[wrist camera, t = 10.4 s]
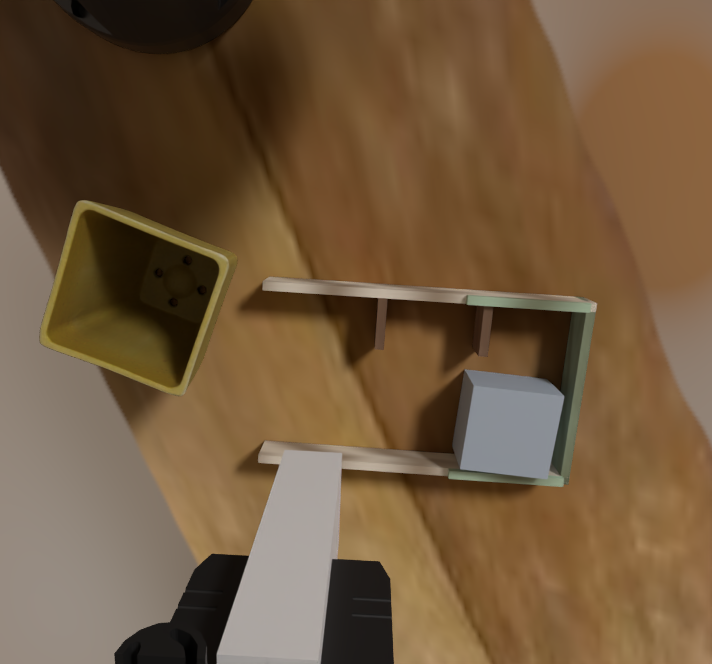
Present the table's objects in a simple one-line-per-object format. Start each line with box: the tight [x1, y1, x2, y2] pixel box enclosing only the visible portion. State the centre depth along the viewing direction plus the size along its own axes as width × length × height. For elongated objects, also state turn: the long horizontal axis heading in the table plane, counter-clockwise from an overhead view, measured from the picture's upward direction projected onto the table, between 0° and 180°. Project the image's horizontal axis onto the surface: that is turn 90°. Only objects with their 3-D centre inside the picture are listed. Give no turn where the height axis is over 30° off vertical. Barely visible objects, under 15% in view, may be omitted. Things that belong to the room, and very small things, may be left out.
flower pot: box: [39, 200, 237, 396], centre depth 36 cm, size 9×9×9 cm
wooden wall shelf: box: [258, 277, 597, 487], centre depth 39 cm, size 22×13×3 cm, turn 86°
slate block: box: [452, 369, 565, 479], centre depth 40 cm, size 6×6×4 cm
